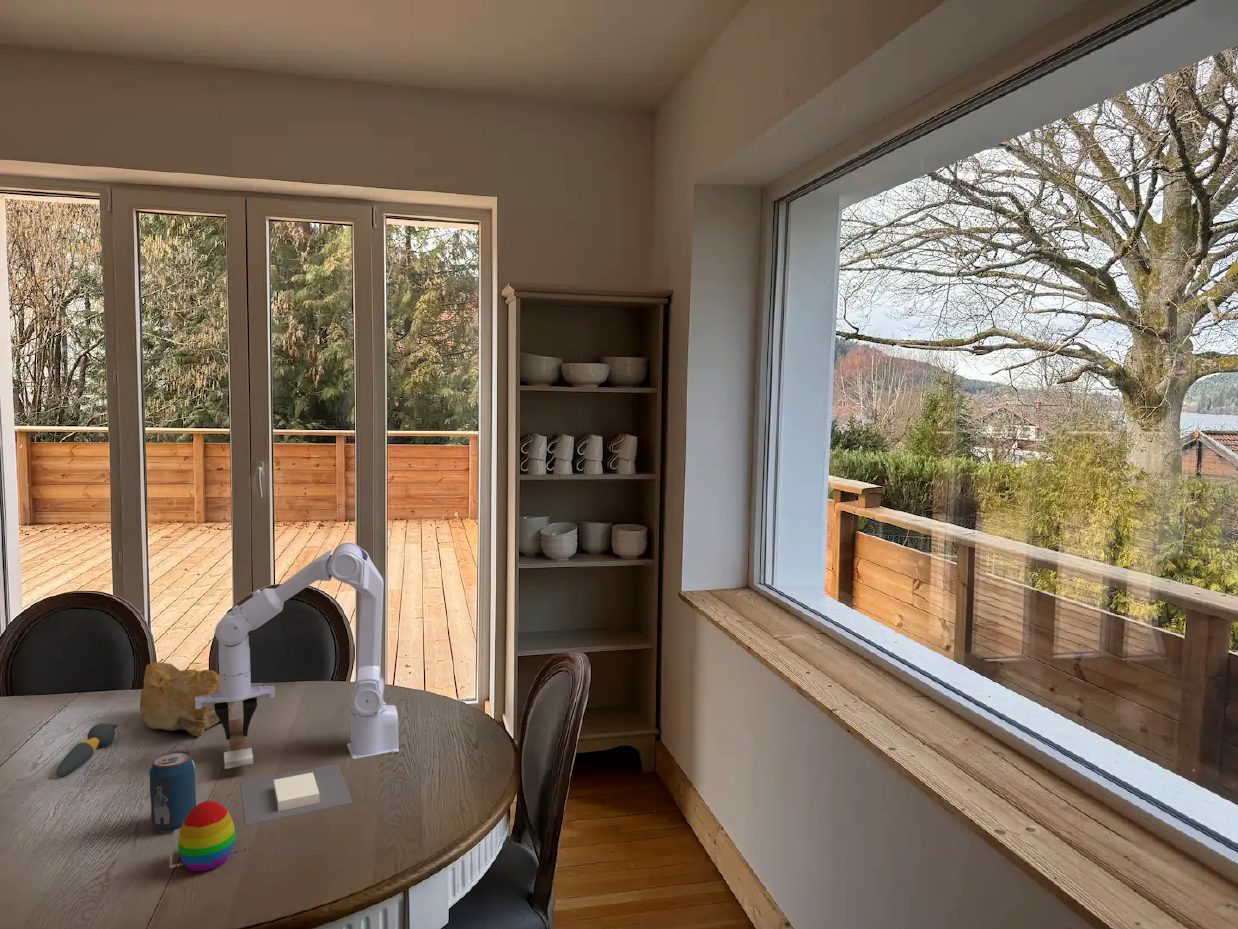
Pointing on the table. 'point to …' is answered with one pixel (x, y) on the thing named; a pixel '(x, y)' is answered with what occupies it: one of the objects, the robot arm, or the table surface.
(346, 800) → the mat
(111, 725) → the paintbrush
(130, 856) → the table surface
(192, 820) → the decorative egg
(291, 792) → the tile
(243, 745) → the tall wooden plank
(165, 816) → the soda can
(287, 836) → the table surface
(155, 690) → the rough brown rock
